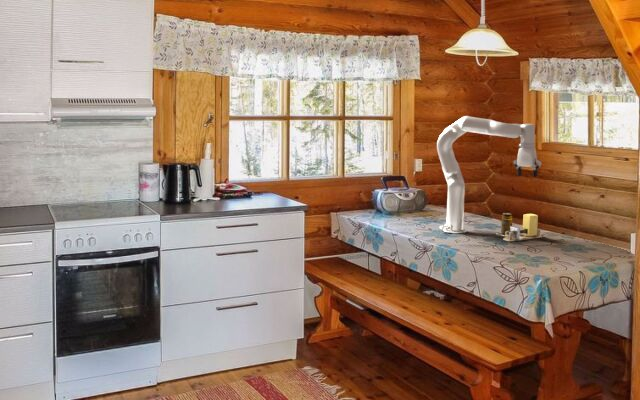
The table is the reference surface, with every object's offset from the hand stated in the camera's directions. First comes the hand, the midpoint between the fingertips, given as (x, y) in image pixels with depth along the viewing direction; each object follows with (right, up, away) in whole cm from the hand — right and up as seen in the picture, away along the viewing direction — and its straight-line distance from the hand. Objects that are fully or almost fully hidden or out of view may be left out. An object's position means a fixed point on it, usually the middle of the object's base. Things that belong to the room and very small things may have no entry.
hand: (527, 176), depth 392 cm
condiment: (-11, -33, +5) cm, 35 cm away
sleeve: (0, -33, -4) cm, 33 cm away
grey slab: (-9, -35, -9) cm, 37 cm away
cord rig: (-4, -35, -6) cm, 35 cm away
